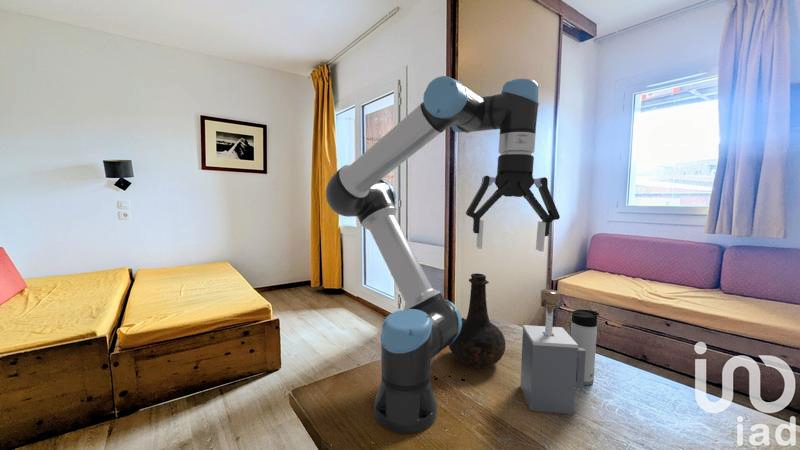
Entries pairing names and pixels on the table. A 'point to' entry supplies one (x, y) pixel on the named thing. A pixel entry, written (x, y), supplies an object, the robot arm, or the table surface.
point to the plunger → (550, 307)
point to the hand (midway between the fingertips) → (509, 249)
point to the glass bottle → (478, 331)
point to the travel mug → (585, 339)
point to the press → (551, 369)
